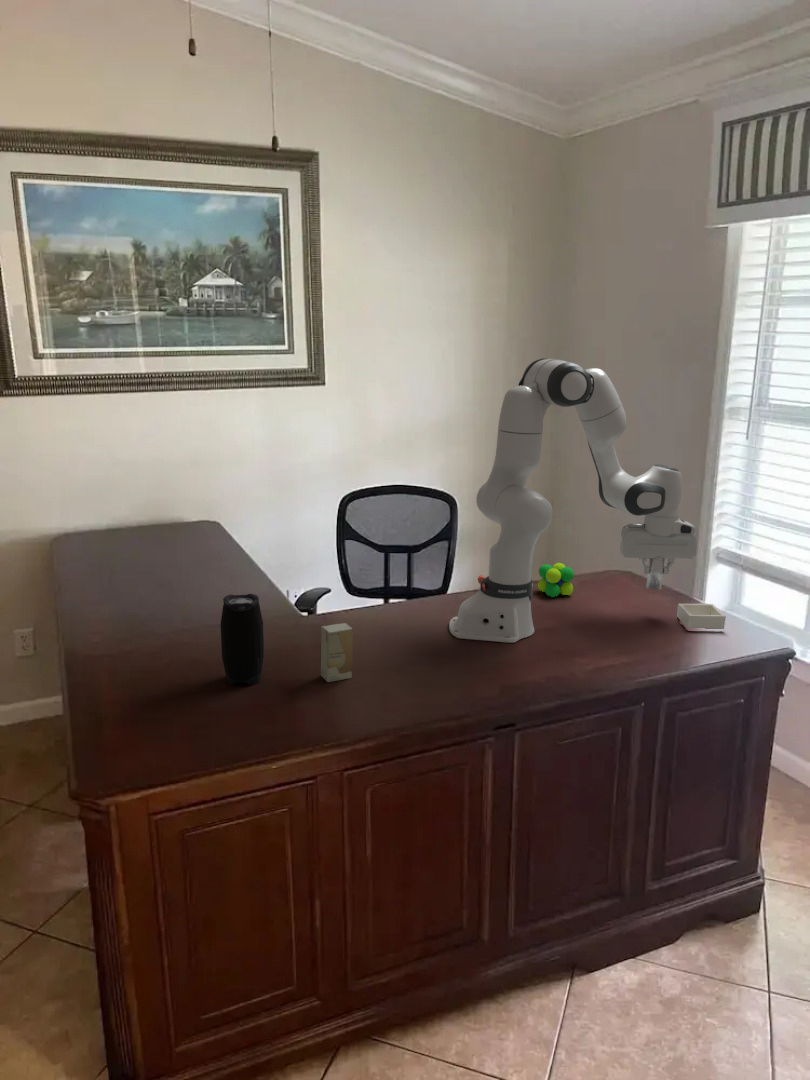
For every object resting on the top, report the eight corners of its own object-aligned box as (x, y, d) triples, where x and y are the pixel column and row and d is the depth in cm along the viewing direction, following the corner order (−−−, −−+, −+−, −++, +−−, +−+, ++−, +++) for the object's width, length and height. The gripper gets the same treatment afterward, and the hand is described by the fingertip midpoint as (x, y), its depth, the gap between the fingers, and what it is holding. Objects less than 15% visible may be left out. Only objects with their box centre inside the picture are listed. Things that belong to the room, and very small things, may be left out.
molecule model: (549, 600, 252) (575, 597, 255) (550, 571, 250) (577, 568, 253) (534, 590, 260) (560, 588, 263) (536, 563, 258) (562, 560, 261)
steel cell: (648, 589, 236) (652, 554, 234) (644, 585, 240) (648, 550, 238) (663, 589, 236) (667, 554, 234) (658, 585, 240) (662, 550, 238)
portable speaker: (216, 678, 196) (212, 597, 191) (252, 668, 202) (250, 589, 197) (234, 691, 190) (231, 607, 185) (271, 680, 196) (269, 599, 190)
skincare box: (327, 683, 195) (327, 632, 192) (320, 675, 199) (319, 626, 195) (353, 678, 198) (353, 628, 194) (345, 670, 201) (345, 621, 198)
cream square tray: (687, 631, 229) (689, 615, 228) (676, 618, 239) (678, 603, 237) (723, 632, 229) (725, 616, 228) (711, 619, 239) (712, 604, 237)
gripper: (625, 526, 230) (620, 575, 234) (701, 528, 231) (695, 577, 234) (619, 520, 236) (614, 568, 240) (693, 522, 237) (688, 570, 240)
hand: (655, 573), depth 237 cm, fingers closed on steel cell, 4 cm apart
